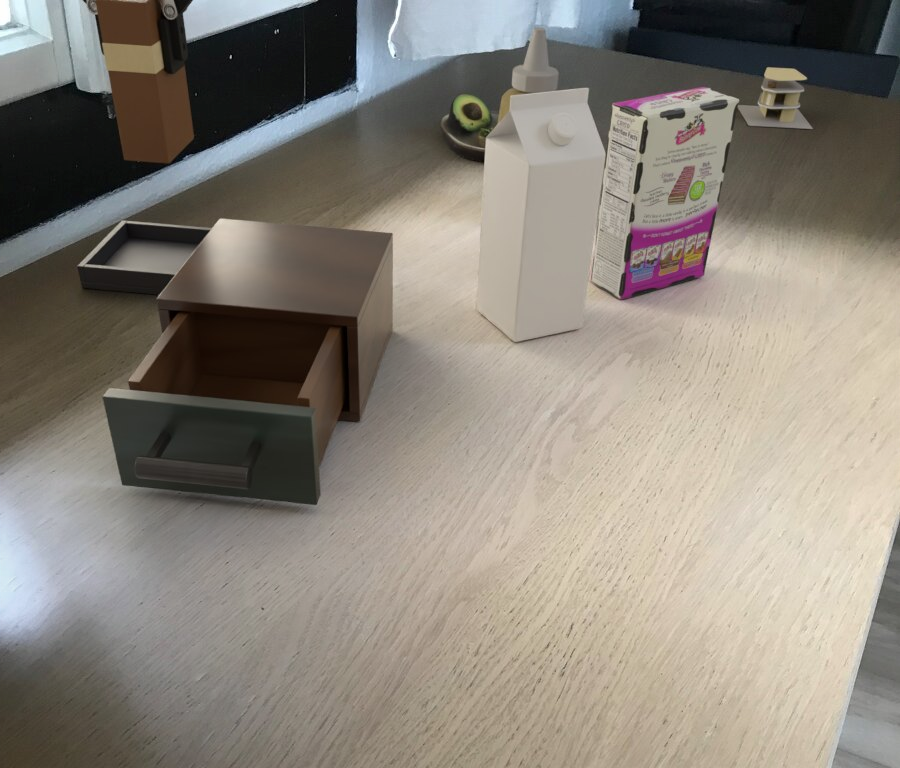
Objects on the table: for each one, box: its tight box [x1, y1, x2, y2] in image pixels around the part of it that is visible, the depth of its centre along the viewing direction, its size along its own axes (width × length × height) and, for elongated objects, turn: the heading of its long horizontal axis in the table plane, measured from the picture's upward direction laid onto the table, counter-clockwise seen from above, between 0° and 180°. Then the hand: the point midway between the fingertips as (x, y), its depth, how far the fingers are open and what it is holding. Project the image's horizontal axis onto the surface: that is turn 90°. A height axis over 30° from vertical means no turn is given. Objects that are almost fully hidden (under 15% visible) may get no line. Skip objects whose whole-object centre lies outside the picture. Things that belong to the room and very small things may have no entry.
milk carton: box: [475, 87, 607, 343], centre depth 83 cm, size 7×7×19 cm
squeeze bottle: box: [498, 27, 560, 123], centre depth 102 cm, size 8×8×18 cm
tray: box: [76, 220, 213, 296], centre depth 93 cm, size 14×11×2 cm
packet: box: [95, 0, 195, 164], centre depth 83 cm, size 4×7×12 cm, turn 173°
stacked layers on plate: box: [737, 66, 814, 130], centre depth 138 cm, size 10×9×6 cm
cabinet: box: [156, 218, 394, 423], centre depth 78 cm, size 16×15×9 cm
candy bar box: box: [590, 86, 740, 300], centre depth 91 cm, size 11×5×16 cm, turn 123°
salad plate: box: [440, 93, 500, 163], centre depth 125 cm, size 19×18×5 cm
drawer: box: [102, 311, 349, 506], centre depth 67 cm, size 19×13×7 cm
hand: (147, 65), depth 82 cm, fingers closed on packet, 4 cm apart
